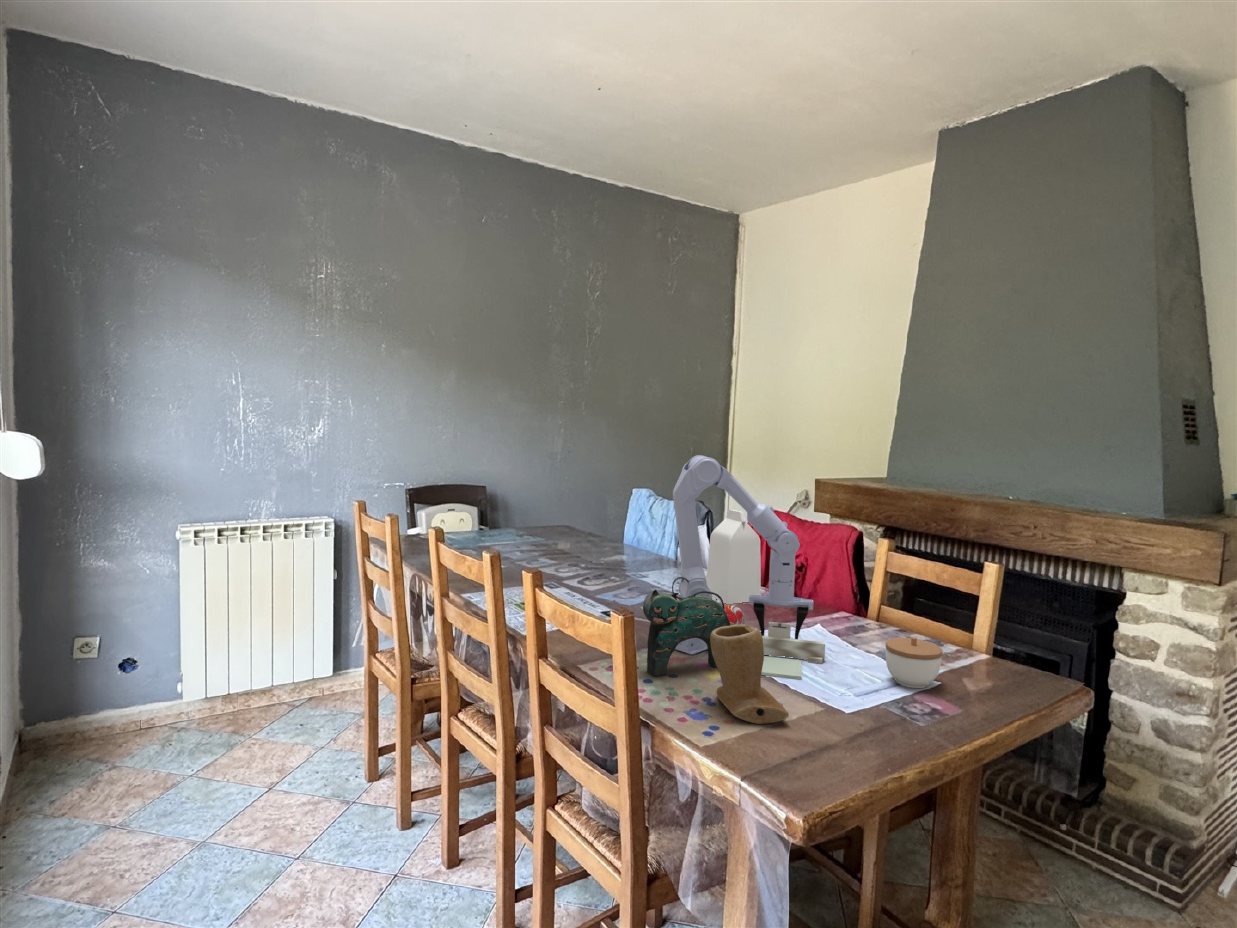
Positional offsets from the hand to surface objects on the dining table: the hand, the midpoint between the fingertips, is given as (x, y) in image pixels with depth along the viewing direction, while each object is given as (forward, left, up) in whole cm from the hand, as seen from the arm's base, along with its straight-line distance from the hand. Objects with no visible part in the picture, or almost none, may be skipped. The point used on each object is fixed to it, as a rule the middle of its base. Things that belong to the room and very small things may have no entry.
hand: (779, 636), depth 163 cm
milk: (+28, +33, -3) cm, 43 cm away
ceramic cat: (-28, +6, -3) cm, 29 cm away
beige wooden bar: (-6, -3, -2) cm, 7 cm away
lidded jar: (+1, -30, -3) cm, 31 cm away
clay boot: (-36, -14, -3) cm, 39 cm away
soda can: (0, +14, +2) cm, 14 cm away
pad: (-13, -7, -2) cm, 15 cm away
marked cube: (0, 0, -2) cm, 2 cm away
